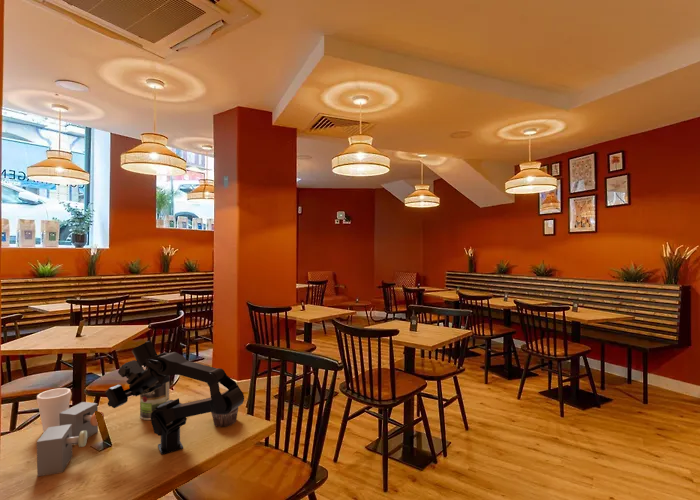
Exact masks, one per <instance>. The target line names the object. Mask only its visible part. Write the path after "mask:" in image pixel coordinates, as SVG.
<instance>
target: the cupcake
mask: <svg viewBox="0 0 700 500" xmlns="http://www.w3.org/2000/svg"><path fill="white" fill-rule="evenodd" d="M238 412H239V407H237V408H236V409H234V410H233V411H231V412H230V413H228V414H215V413H213V412H210V413H211V417H212V421H213V424H214V426H215V427H217V428H226V427H230V426H233V425H235V423H236V422H237V418H238ZM232 424H233V425H232Z"/></svg>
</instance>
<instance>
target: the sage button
mask: <svg viewBox="0 0 700 500" xmlns="http://www.w3.org/2000/svg"><path fill="white" fill-rule="evenodd" d="M87 440H88V438H87V431H86V430H85V431H81V432H80V434H79V436H75V437H68V438H65V441H66V444H71V443H78V444H77V445H78V447H79V448H83V447H85V446H86V445H87V443H88V442H87Z"/></svg>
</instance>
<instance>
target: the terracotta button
mask: <svg viewBox="0 0 700 500" xmlns="http://www.w3.org/2000/svg"><path fill="white" fill-rule="evenodd" d="M99 412H100V413H101V414H102V416H103V420H104V419H105V414H104V412H103V411H99ZM83 420H85V421H90V423H91V425H92V426H98V422H97V419H96V415H95V413H94V414H93V415H85V414H84V415H83ZM98 427H99V426H98Z"/></svg>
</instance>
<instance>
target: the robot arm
mask: <svg viewBox="0 0 700 500" xmlns="http://www.w3.org/2000/svg"><path fill="white" fill-rule="evenodd" d="M131 353H132V354H133V356H134V358H135V359H133V360H130V361H128V362H125V363H124V364H122V365H121V366H119V368H118V372H117V374H118V375H119V376H120V377H122V378H126V379H127V380H126V383H127V385H129V386H128V388H127V389H124V387H123V385H121V384H117V385H114V386H111V387H109V388H107V389H106V390H105V392H104V394H105V396H106V397H107V400H108V401H107V405H108V407H111V408H113V409H116V408H118V407H120V406H124V404H126V403H127V402H128V398H129V397H131V396H132V397H134V396H135V397H140V395H141V394H145V393H149V392H152V391H154V390H156V389H158V388H160V387H161V386H162V385H163V384H165V383H167V382H169V383H170V380H171V378H170V377H171V376H180V377H181V376H182V377H184V378H189V379H192V380H196V381H199V382H202V383H205V384H207V385H208V387H209V393H210V397H207V398H202V399H199V400H198V399H197V400H194V401H193V400H192V401H188V402H184V403H182V402H181V401H180V398H176V399H169V401H167V402H165V403H163V404H161V405H159V406H157V407H155V408H156V409H155V410H153V411H152V414H151V420H150V422H151V425H152V429H153V434H156V435H157V436H158V437H160V443H158V444H157V448H158V450H159V451H160V455H165V454H169V453H173V452H176V451H179V450H182V449H184V445H183V444H182V441H181V427H182V426H184V425H186V423H187V420H188V418H190V417H193V416H199V415H203V414H209V413H211V412H213V413H215V414H228V413H230V412H231V411H233V410H234V409H236V408H237V407H238V408H239V407H240V406H241V405H243V404H244V402H245V395H244V393H243V391H242V389H241V387H239V385H238V383H237V382H236V381H235V380H233V378H231V377H230V376H228V374H227V373H226V372H225V370H224V369H223V368H221V367H219V368H216V367H214V366H213V367H212V366H209V365H207V364H201V363H198V362H195V361H190V360H188V359H186V358H185V356H184V355H183V354H180V353H178V352H176V351H173V352H170V353H169V352H162V353H159V354H157V351H156V349H155V346H154V345H153V342H152V341H151V340H148V341H145V342H144V343H142V344H140V345H138V346H136V347H134V348H133V349H132V350H131ZM146 367H147V368H146ZM144 368H146V369H144ZM169 376H170V377H169ZM220 384H221V385H222V386H223V387H224V388H225V389H227V390H225V391H224V392H222V393H221V390H220Z"/></svg>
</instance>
